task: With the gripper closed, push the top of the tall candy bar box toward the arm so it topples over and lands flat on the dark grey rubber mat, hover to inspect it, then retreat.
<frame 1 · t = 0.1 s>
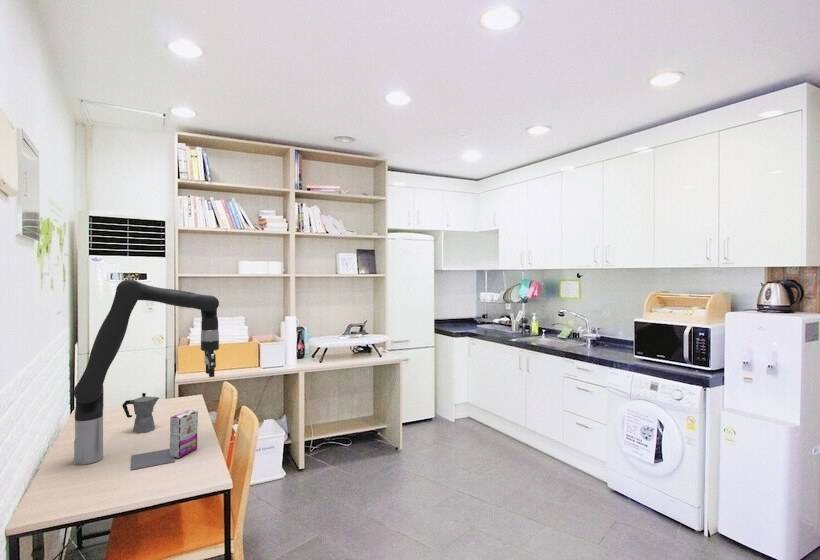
hand: (210, 375, 204), 29 cm above the table, fingers open, 8 cm apart
candy bar box: (183, 453, 187), on the table, touching mat
coffeepot: (141, 431, 216), on the table
mat: (152, 459, 182), on the table
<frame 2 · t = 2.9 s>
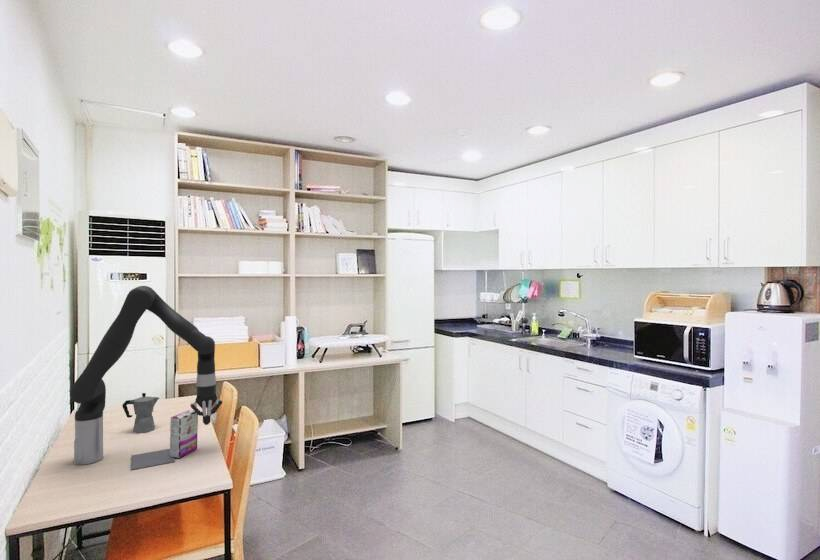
hand: (206, 424, 192), 11 cm above the table, fingers closed
nothing on the table moved.
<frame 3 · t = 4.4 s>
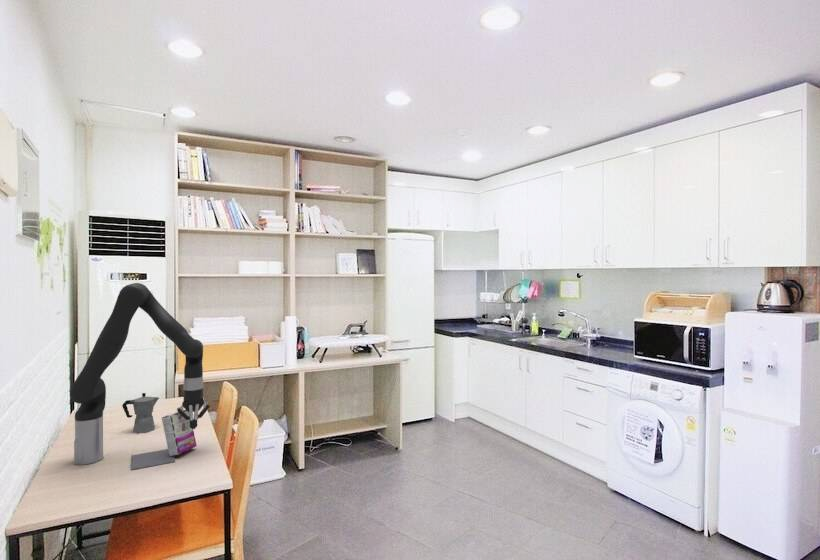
hand: (193, 428, 190), 10 cm above the table, fingers closed
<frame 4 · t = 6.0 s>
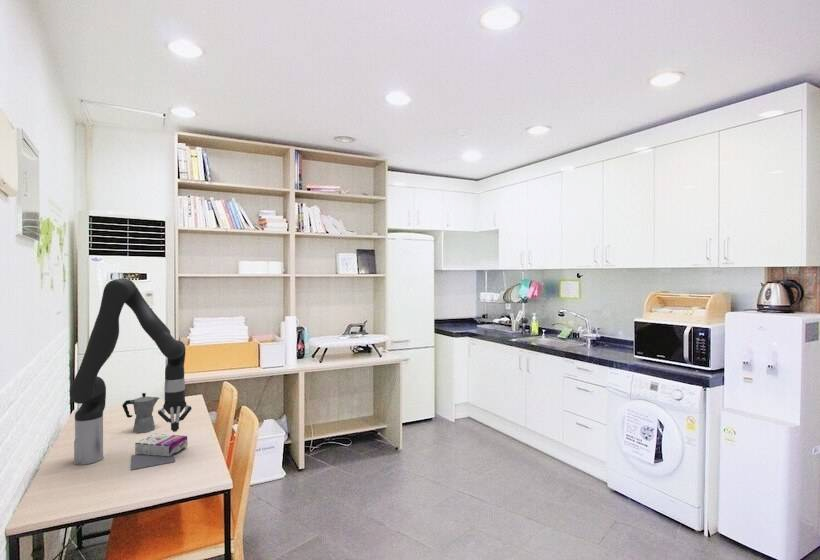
hand: (175, 431, 186), 10 cm above the table, fingers closed
candy bar box: (179, 446, 188), point 3 cm above the table, touching mat
everything else where it was.
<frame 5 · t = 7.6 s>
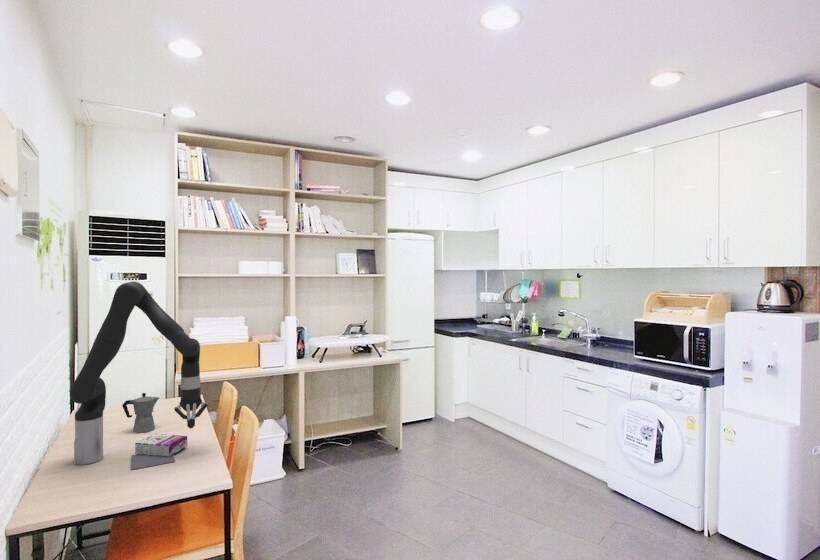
hand: (191, 427, 189), 10 cm above the table, fingers closed
nothing on the table moved.
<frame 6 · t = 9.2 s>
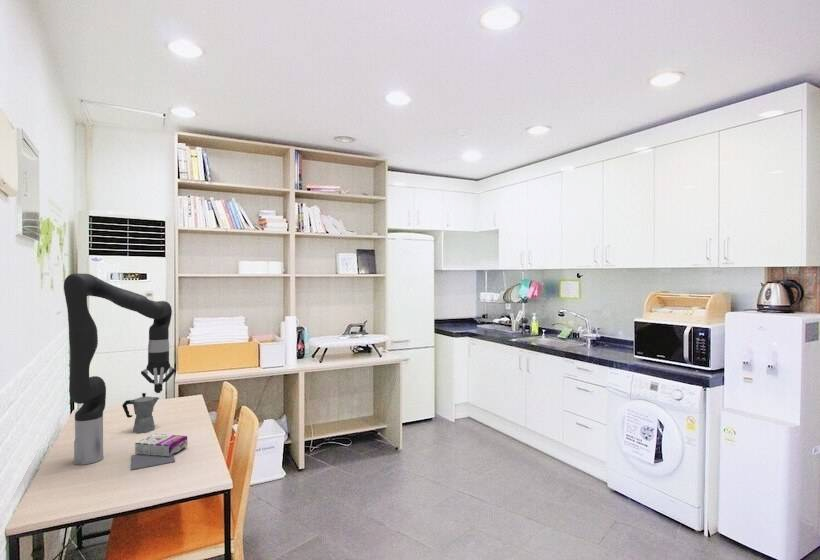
hand: (158, 392, 183), 27 cm above the table, fingers closed
nothing on the table moved.
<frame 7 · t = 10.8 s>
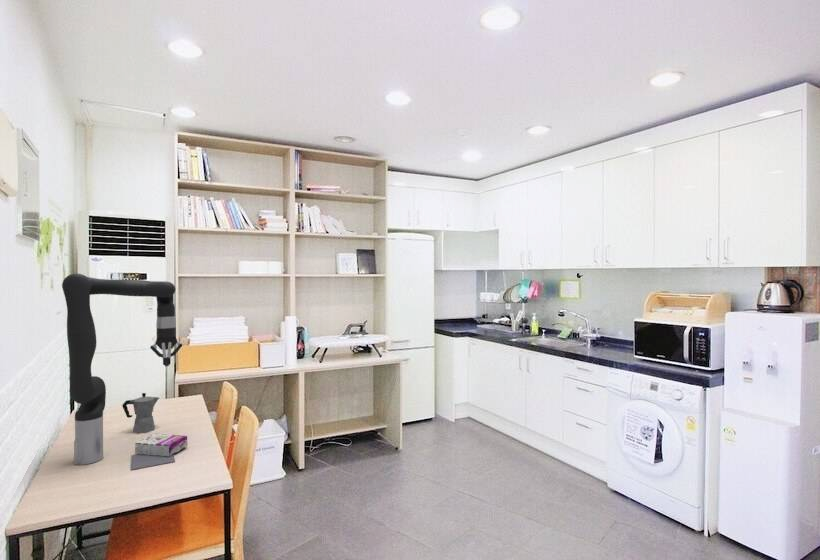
hand: (166, 365, 198), 35 cm above the table, fingers closed
nothing on the table moved.
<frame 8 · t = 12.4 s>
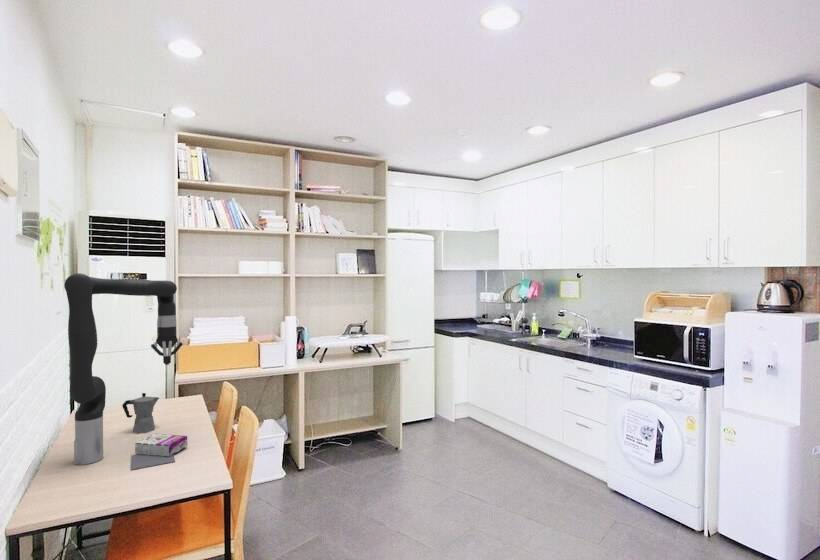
hand: (167, 364, 199), 35 cm above the table, fingers closed
nothing on the table moved.
at the end: candy bar box tilted 89°; candy bar box inside the target area (6.8 cm from its centre), point 2.8 cm above the table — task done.
